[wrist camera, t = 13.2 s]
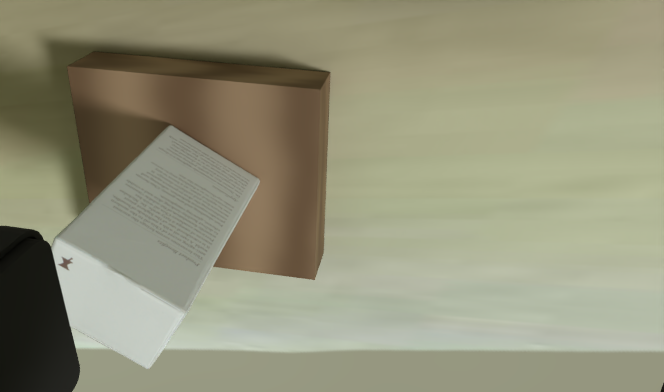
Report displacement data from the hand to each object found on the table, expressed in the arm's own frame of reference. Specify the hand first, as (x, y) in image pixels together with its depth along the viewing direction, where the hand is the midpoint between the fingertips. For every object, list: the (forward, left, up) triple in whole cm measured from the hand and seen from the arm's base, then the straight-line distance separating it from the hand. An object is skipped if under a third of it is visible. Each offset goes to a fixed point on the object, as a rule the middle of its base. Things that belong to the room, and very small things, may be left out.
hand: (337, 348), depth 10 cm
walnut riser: (+11, +10, -27) cm, 31 cm away
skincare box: (+11, +10, -24) cm, 28 cm away
